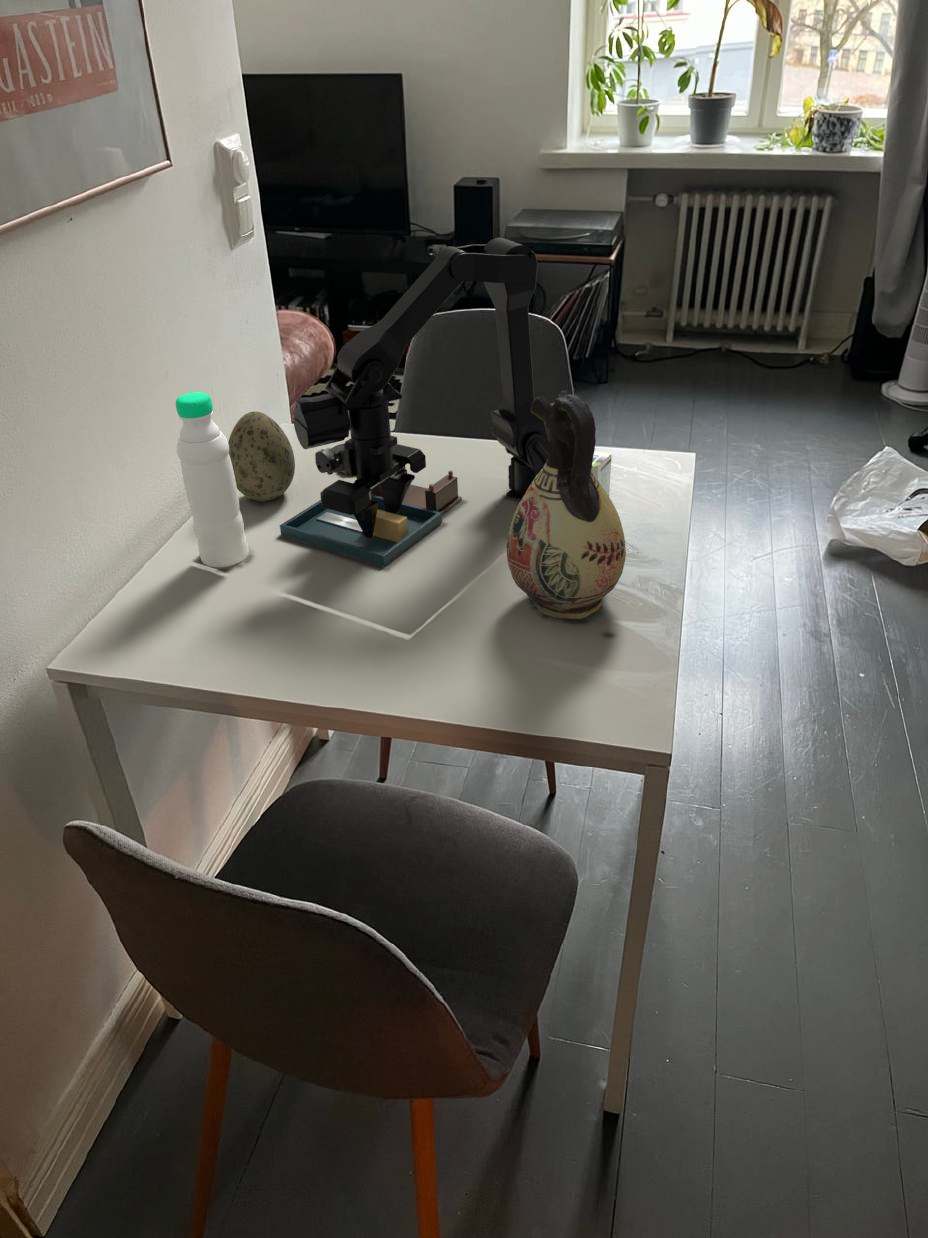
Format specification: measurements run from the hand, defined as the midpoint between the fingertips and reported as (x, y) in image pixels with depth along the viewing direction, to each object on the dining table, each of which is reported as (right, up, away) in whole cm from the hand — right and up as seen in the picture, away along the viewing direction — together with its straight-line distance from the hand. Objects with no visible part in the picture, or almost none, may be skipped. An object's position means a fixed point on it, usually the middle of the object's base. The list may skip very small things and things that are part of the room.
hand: (380, 529), depth 142 cm
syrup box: (+30, -3, -4) cm, 31 cm away
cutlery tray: (-3, 0, +2) cm, 4 cm away
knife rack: (+3, +6, +11) cm, 13 cm away
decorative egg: (-20, +6, +13) cm, 25 cm away
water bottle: (-23, -5, -3) cm, 23 cm away
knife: (-3, 0, +2) cm, 4 cm away
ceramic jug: (+27, -12, -17) cm, 34 cm away
